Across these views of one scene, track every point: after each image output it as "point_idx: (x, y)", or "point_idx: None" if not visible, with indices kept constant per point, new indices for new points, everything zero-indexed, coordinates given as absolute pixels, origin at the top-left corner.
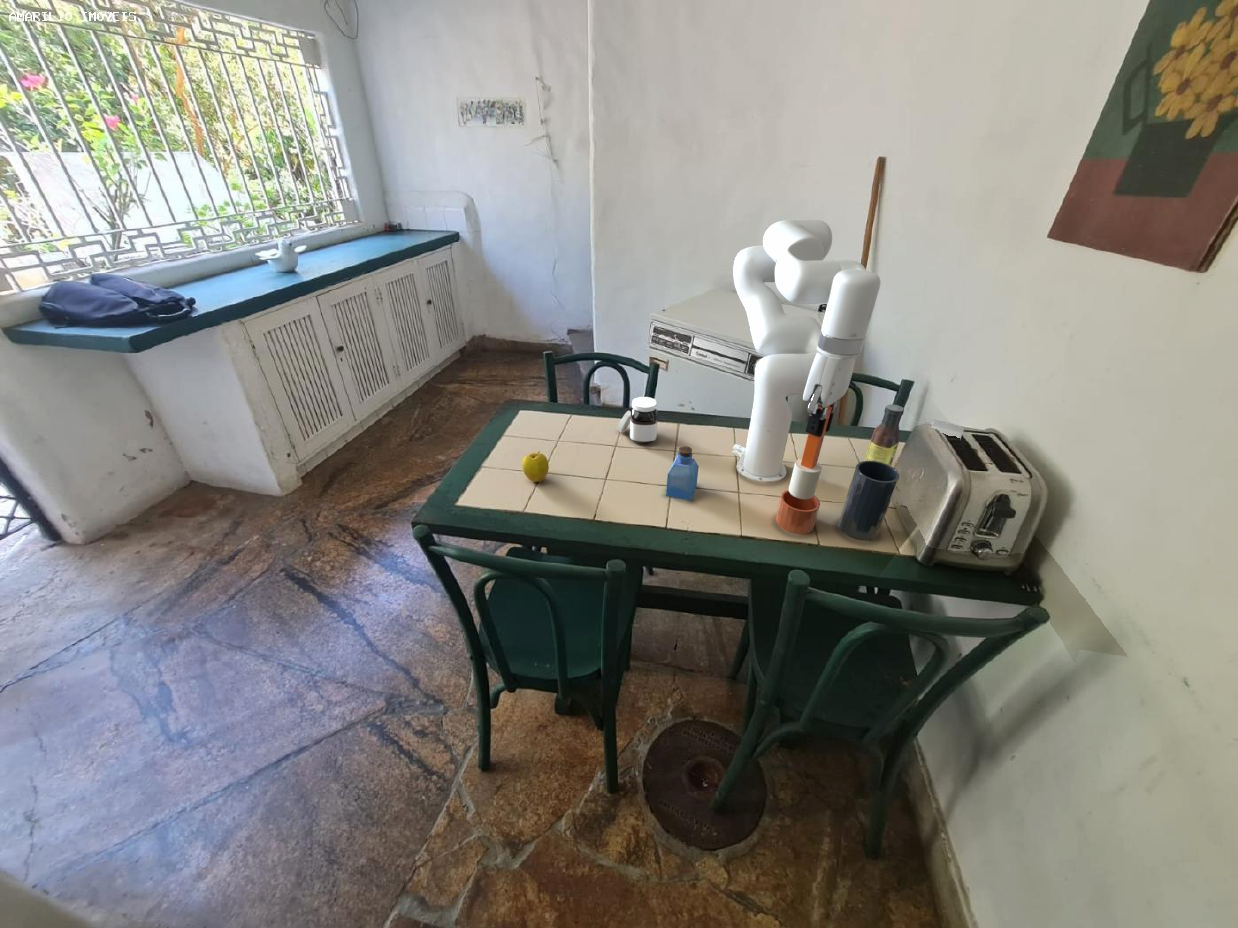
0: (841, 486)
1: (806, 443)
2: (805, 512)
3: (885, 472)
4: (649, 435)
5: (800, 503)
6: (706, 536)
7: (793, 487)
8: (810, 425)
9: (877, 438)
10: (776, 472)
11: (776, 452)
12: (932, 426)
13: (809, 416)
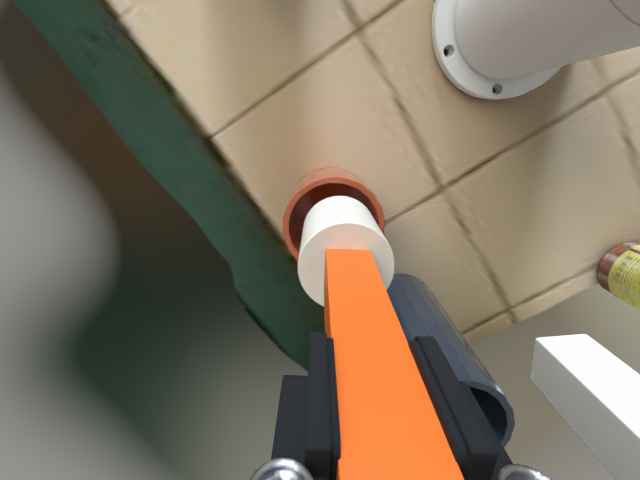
0: (545, 226)
1: (328, 299)
2: (296, 257)
3: (490, 419)
4: None
5: (370, 207)
6: (142, 72)
7: (304, 225)
8: (279, 406)
9: None
10: (495, 76)
11: (526, 52)
12: None
13: (307, 427)
